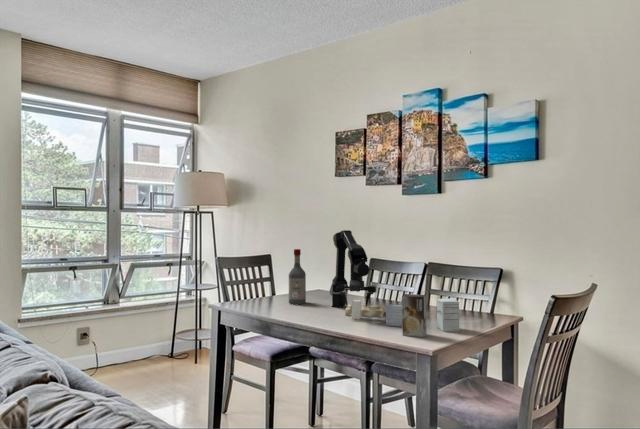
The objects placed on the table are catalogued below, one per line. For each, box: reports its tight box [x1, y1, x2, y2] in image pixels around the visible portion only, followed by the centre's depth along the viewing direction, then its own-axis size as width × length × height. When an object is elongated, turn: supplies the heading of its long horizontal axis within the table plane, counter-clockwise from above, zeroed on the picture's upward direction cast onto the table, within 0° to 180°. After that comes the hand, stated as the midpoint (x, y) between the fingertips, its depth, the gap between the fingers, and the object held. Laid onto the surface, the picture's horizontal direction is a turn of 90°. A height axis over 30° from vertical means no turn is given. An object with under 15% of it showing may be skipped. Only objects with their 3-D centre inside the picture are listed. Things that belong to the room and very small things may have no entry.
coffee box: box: [401, 293, 428, 338], centre depth 195 cm, size 9×6×16 cm
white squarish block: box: [351, 299, 362, 320], centre depth 228 cm, size 4×4×8 cm
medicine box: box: [385, 304, 402, 327], centre depth 212 cm, size 8×4×9 cm, turn 71°
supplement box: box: [436, 298, 460, 333], centre depth 204 cm, size 7×7×13 cm
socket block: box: [344, 304, 385, 318], centre depth 238 cm, size 18×13×3 cm
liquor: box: [288, 248, 307, 305], centre depth 267 cm, size 9×9×30 cm
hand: (356, 306), depth 228 cm, fingers open, 9 cm apart
